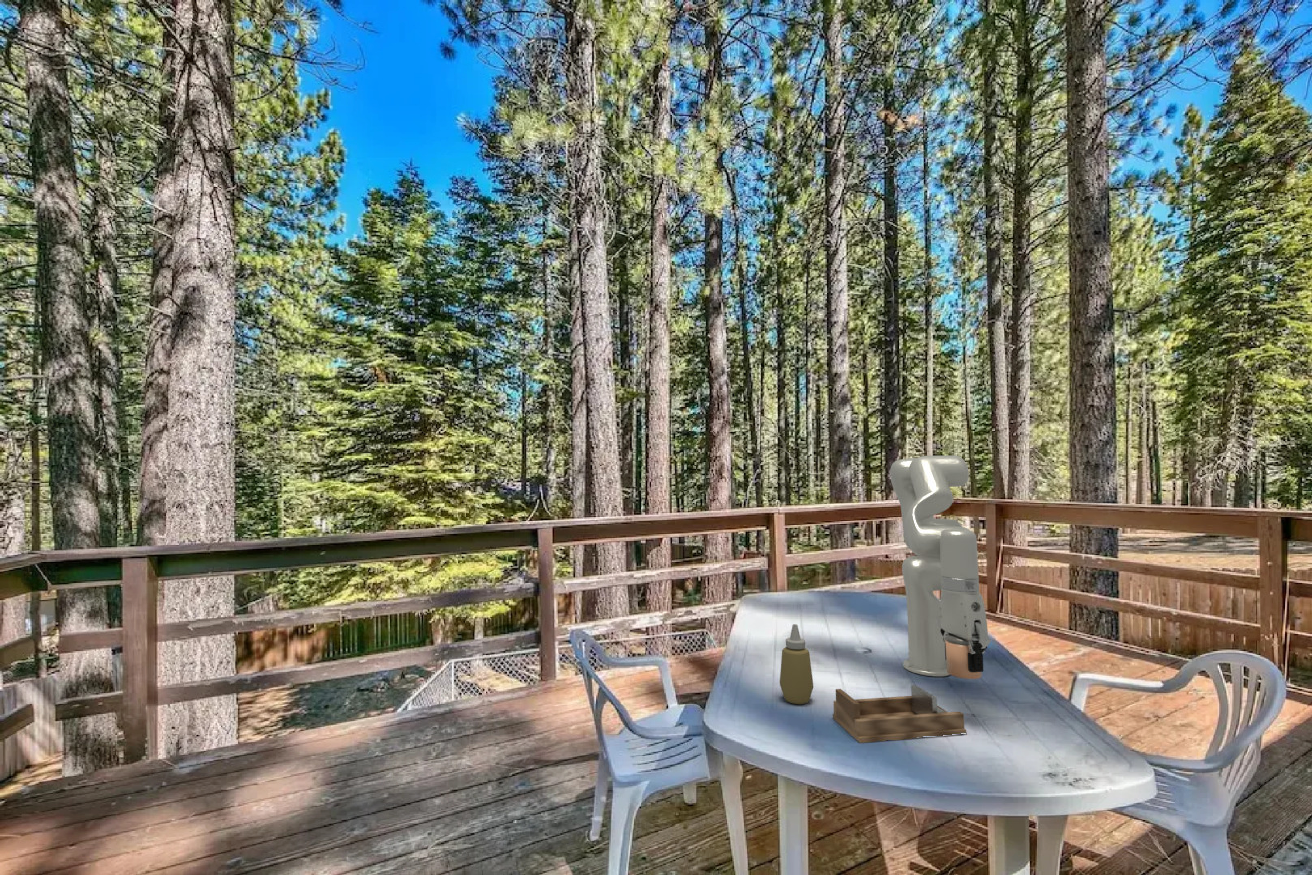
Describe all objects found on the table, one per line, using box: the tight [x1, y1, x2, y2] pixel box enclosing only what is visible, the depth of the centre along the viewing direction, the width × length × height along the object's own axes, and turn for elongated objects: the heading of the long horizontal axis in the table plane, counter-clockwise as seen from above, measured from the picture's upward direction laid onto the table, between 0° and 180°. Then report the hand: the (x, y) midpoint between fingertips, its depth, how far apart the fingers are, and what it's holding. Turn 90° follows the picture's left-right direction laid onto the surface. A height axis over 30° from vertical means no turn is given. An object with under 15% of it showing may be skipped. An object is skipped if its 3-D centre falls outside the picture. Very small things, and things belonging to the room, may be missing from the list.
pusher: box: [910, 684, 946, 715], centre depth 122 cm, size 3×8×6 cm, turn 8°
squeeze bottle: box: [779, 623, 814, 705], centre depth 136 cm, size 8×8×18 cm
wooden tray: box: [832, 688, 967, 744], centre depth 121 cm, size 24×12×7 cm, turn 98°
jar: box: [945, 634, 983, 680], centre depth 124 cm, size 7×7×8 cm
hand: (963, 665), depth 124 cm, fingers closed on jar, 6 cm apart
